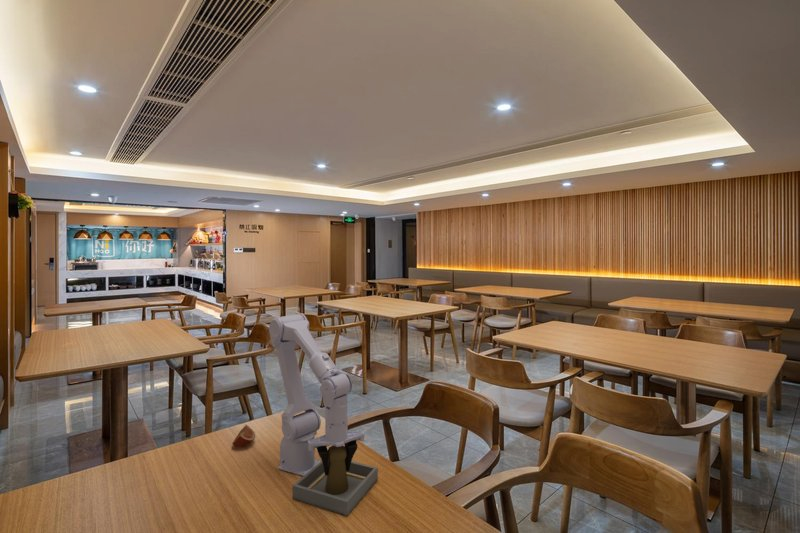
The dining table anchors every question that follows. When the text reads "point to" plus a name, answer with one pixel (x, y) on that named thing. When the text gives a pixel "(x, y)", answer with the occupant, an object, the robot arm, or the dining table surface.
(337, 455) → the cork
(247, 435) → the fruit slice
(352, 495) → the walled box
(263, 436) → the dining table surface
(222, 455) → the dining table surface
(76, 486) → the dining table surface
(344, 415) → the robot arm
